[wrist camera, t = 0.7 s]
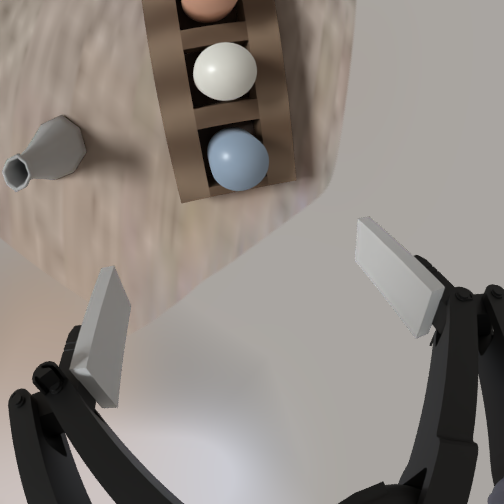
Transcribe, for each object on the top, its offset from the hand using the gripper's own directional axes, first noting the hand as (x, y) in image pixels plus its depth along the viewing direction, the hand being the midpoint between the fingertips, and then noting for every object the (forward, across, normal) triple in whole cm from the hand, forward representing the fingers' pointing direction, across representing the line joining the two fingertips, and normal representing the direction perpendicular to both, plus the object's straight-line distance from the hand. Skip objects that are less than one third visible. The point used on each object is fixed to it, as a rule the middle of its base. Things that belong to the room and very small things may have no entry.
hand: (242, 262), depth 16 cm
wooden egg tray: (+20, +2, +10) cm, 22 cm away
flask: (+20, -17, +6) cm, 27 cm away
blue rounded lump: (+17, +2, +2) cm, 17 cm away
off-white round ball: (+17, +2, +10) cm, 20 cm away
